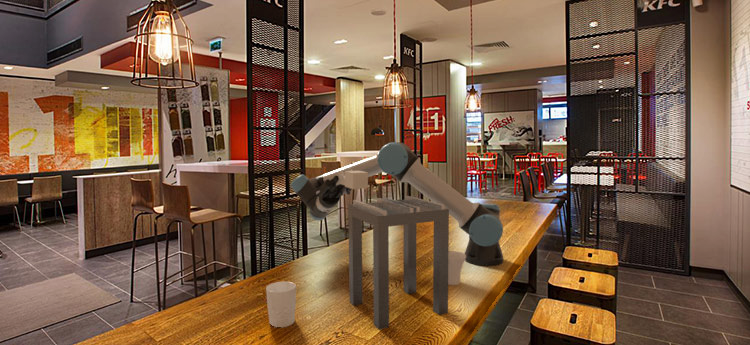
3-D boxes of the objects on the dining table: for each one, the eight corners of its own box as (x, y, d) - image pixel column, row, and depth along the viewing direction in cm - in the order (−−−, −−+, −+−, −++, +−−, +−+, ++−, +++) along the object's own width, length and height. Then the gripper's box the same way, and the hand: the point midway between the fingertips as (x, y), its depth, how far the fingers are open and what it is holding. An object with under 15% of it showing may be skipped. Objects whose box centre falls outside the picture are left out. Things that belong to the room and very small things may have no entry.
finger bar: (332, 182, 142) (332, 168, 142) (345, 182, 145) (345, 168, 144) (353, 189, 125) (353, 173, 125) (367, 188, 128) (367, 172, 127)
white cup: (289, 330, 106) (288, 293, 105) (261, 327, 107) (260, 291, 106) (301, 317, 113) (300, 282, 112) (275, 314, 115) (274, 280, 114)
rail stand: (349, 301, 124) (348, 200, 121) (411, 289, 133) (411, 195, 130) (378, 329, 106) (378, 211, 103) (447, 313, 115) (448, 204, 112)
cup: (451, 289, 133) (451, 259, 132) (434, 280, 141) (434, 252, 141) (472, 284, 137) (472, 255, 136) (454, 276, 146) (455, 248, 145)
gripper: (349, 206, 158) (371, 181, 138) (309, 210, 151) (326, 184, 131) (345, 189, 160) (366, 162, 141) (306, 191, 154) (322, 163, 134)
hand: (347, 173), depth 136 cm, fingers closed on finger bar, 3 cm apart
